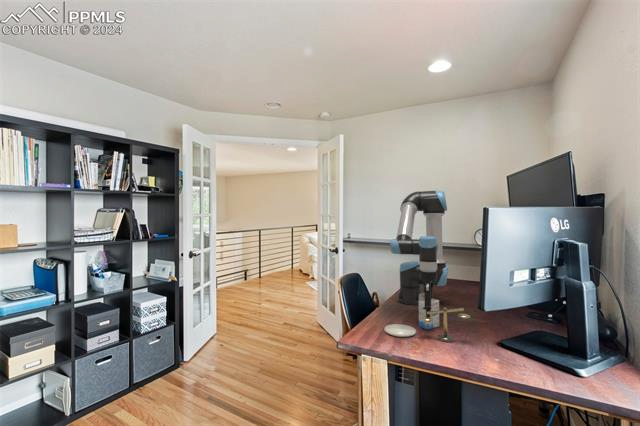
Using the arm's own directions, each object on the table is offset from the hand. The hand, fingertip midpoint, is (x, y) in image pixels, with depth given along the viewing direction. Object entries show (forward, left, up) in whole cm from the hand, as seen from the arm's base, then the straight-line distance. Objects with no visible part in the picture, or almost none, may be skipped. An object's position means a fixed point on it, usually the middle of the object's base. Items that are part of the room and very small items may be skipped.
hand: (429, 320), depth 135 cm
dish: (+12, -11, -3) cm, 16 cm away
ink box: (0, 0, -3) cm, 3 cm away
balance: (+13, +7, -3) cm, 15 cm away
